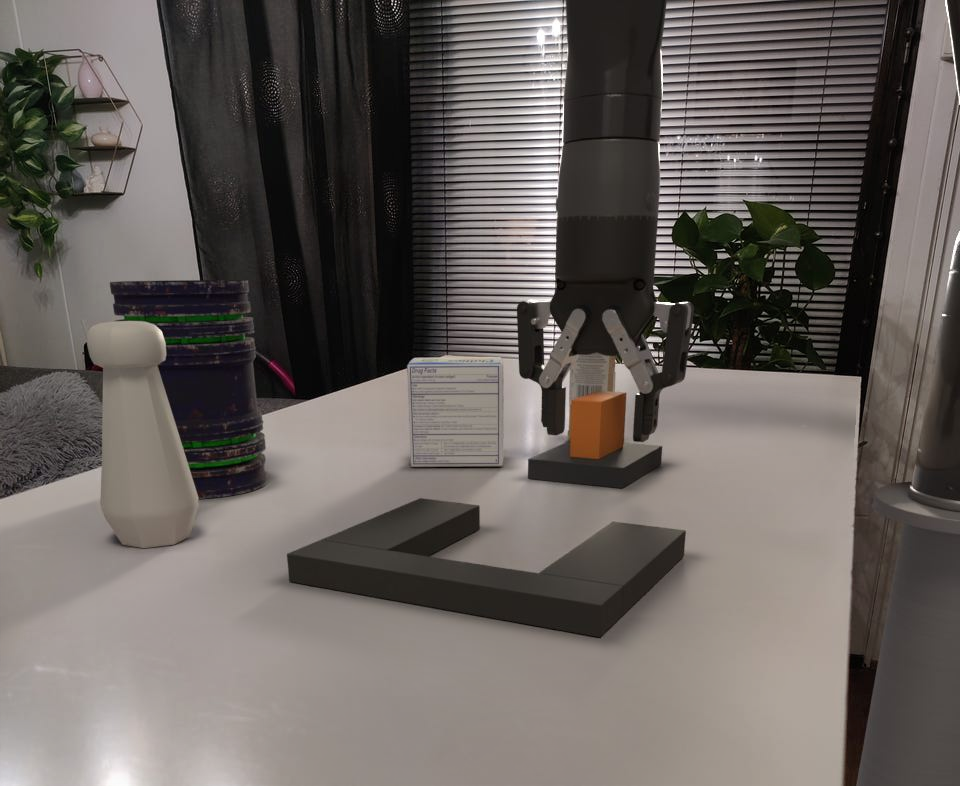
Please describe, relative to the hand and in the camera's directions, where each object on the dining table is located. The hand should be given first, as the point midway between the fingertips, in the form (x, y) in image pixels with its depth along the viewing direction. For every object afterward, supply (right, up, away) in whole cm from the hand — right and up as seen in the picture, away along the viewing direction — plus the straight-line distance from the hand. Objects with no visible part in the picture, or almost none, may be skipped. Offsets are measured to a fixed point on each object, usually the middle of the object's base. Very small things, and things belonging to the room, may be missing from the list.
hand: (597, 436), depth 74 cm
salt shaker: (-30, -10, -16) cm, 36 cm away
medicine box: (-12, -1, +5) cm, 12 cm away
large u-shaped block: (-9, -13, -23) cm, 27 cm away
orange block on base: (0, -3, +1) cm, 3 cm away
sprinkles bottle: (+1, +3, +15) cm, 15 cm away
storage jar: (-31, -5, -2) cm, 32 cm away
